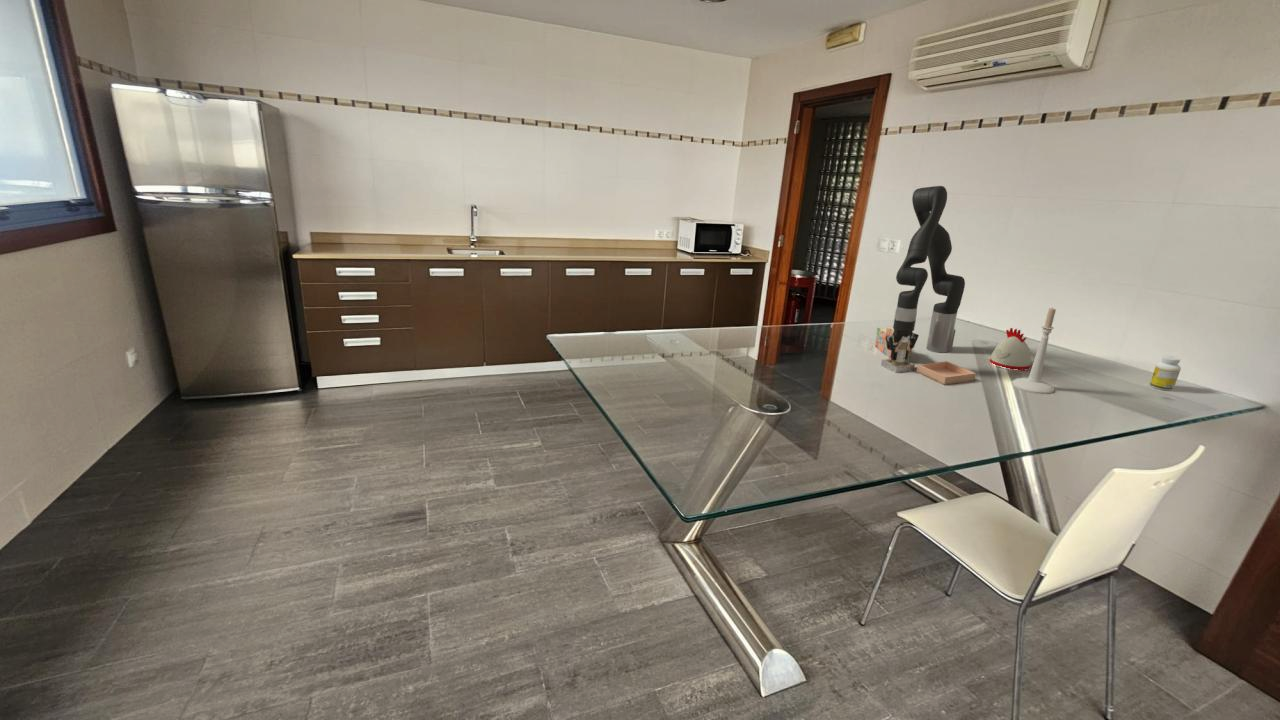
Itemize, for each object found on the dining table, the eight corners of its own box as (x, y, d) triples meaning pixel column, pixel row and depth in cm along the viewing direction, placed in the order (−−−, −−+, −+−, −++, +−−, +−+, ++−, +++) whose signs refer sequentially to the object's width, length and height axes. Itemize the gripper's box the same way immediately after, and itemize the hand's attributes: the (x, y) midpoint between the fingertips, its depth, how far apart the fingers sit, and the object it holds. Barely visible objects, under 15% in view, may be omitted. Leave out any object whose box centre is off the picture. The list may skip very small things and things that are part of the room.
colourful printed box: (874, 346, 242) (878, 320, 238) (888, 346, 242) (892, 320, 238) (894, 363, 222) (899, 334, 218) (910, 362, 222) (914, 334, 218)
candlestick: (1063, 392, 191) (1085, 311, 181) (1031, 395, 189) (1052, 313, 179) (1033, 379, 203) (1052, 302, 193) (1003, 381, 201) (1021, 304, 191)
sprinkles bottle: (896, 365, 219) (901, 333, 215) (905, 368, 215) (911, 336, 211) (888, 367, 217) (893, 335, 213) (898, 370, 213) (903, 338, 209)
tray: (945, 368, 215) (946, 361, 214) (974, 380, 203) (976, 373, 202) (916, 372, 212) (917, 364, 211) (944, 384, 199) (945, 377, 198)
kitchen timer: (1006, 357, 227) (1014, 323, 222) (1038, 367, 214) (1047, 332, 209) (981, 361, 223) (989, 326, 218) (1012, 372, 210) (1021, 335, 205)
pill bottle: (1159, 383, 198) (1169, 354, 194) (1178, 390, 192) (1189, 360, 188) (1144, 385, 197) (1154, 355, 193) (1163, 391, 191) (1173, 361, 187)
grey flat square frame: (898, 363, 221) (899, 357, 220) (913, 370, 213) (914, 364, 213) (880, 365, 219) (881, 359, 218) (895, 372, 211) (896, 366, 210)
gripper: (913, 314, 214) (906, 354, 220) (883, 317, 211) (877, 358, 217) (927, 319, 208) (920, 360, 213) (896, 322, 204) (889, 364, 210)
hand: (898, 359), depth 215 cm, fingers closed on sprinkles bottle, 4 cm apart
